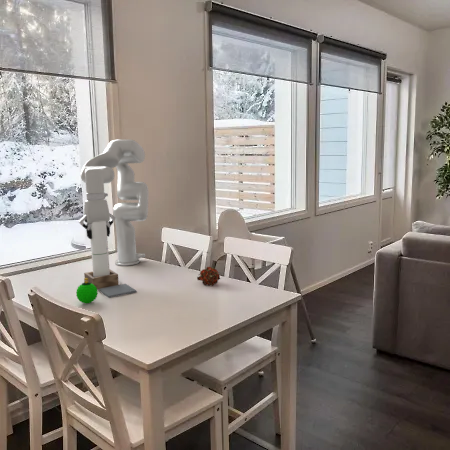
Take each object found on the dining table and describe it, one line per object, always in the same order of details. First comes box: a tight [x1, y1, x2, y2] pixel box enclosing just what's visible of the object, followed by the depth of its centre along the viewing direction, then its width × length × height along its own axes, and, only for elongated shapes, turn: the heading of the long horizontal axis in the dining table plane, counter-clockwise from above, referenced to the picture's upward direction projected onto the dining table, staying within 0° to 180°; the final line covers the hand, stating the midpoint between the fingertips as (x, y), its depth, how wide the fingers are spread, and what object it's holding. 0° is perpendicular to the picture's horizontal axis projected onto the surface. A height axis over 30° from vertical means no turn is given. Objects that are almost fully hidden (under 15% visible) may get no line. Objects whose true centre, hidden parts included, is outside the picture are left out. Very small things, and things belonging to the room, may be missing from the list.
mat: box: [98, 283, 137, 299], centre depth 201 cm, size 12×12×1 cm
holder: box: [83, 269, 120, 290], centre depth 211 cm, size 11×11×5 cm
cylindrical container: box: [89, 221, 111, 278], centre depth 209 cm, size 7×7×25 cm
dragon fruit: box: [196, 266, 221, 287], centre depth 208 cm, size 8×8×12 cm
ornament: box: [76, 277, 99, 304], centre depth 187 cm, size 8×8×10 cm
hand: (98, 236), depth 208 cm, fingers closed on cylindrical container, 7 cm apart
